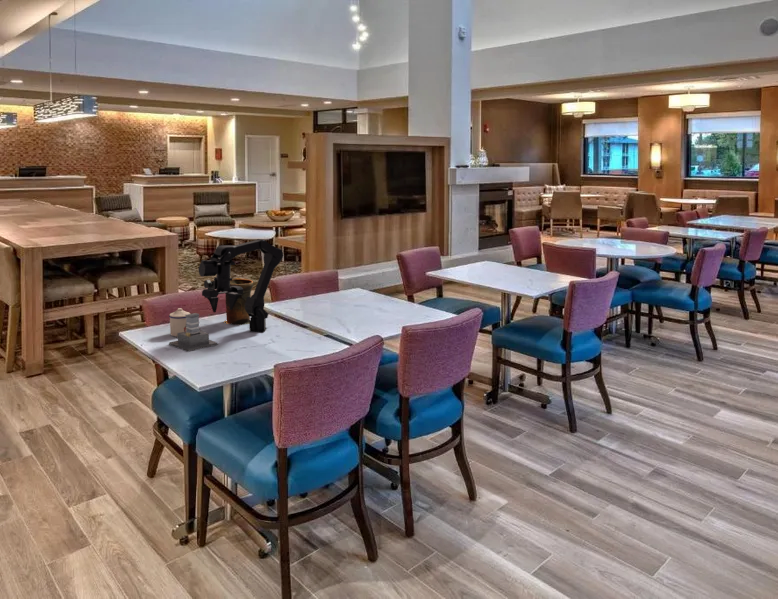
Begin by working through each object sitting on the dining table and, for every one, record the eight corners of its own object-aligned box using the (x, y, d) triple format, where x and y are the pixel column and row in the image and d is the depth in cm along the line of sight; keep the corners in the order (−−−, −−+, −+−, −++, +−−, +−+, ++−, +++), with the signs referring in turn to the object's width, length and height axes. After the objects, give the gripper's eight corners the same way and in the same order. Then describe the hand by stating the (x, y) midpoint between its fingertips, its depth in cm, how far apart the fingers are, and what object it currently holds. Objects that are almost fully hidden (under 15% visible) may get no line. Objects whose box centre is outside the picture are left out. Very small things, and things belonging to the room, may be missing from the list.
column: (195, 340, 264) (194, 312, 262) (201, 342, 262) (200, 314, 259) (185, 342, 261) (184, 314, 258) (190, 344, 258) (189, 316, 256)
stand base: (198, 338, 271) (198, 324, 270) (217, 344, 262) (217, 331, 261) (169, 344, 261) (168, 330, 259) (187, 351, 252) (187, 337, 251)
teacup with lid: (188, 337, 273) (187, 311, 270) (167, 336, 272) (165, 310, 270) (196, 330, 284) (195, 305, 282) (176, 329, 284) (174, 304, 282)
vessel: (245, 316, 312) (245, 276, 307) (259, 323, 301) (258, 282, 296) (218, 320, 303) (217, 279, 298) (230, 327, 292) (230, 285, 287)
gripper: (227, 271, 281) (226, 305, 284) (193, 274, 266) (193, 310, 269) (244, 274, 275) (243, 309, 278) (211, 278, 260) (210, 314, 263)
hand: (222, 311), depth 272 cm, fingers open, 9 cm apart
